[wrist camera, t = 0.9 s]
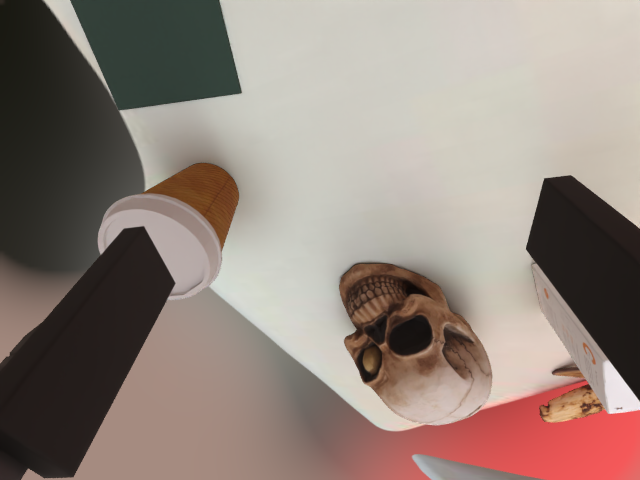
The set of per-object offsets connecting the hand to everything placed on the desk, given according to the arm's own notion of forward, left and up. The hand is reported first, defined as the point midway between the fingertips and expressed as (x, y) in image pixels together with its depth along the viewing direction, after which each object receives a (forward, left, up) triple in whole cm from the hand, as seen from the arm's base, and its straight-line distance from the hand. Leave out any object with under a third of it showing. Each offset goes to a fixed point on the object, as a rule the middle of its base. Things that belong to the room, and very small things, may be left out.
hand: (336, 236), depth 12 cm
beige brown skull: (+26, +5, -22) cm, 35 cm away
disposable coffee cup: (+7, -15, -22) cm, 28 cm away
